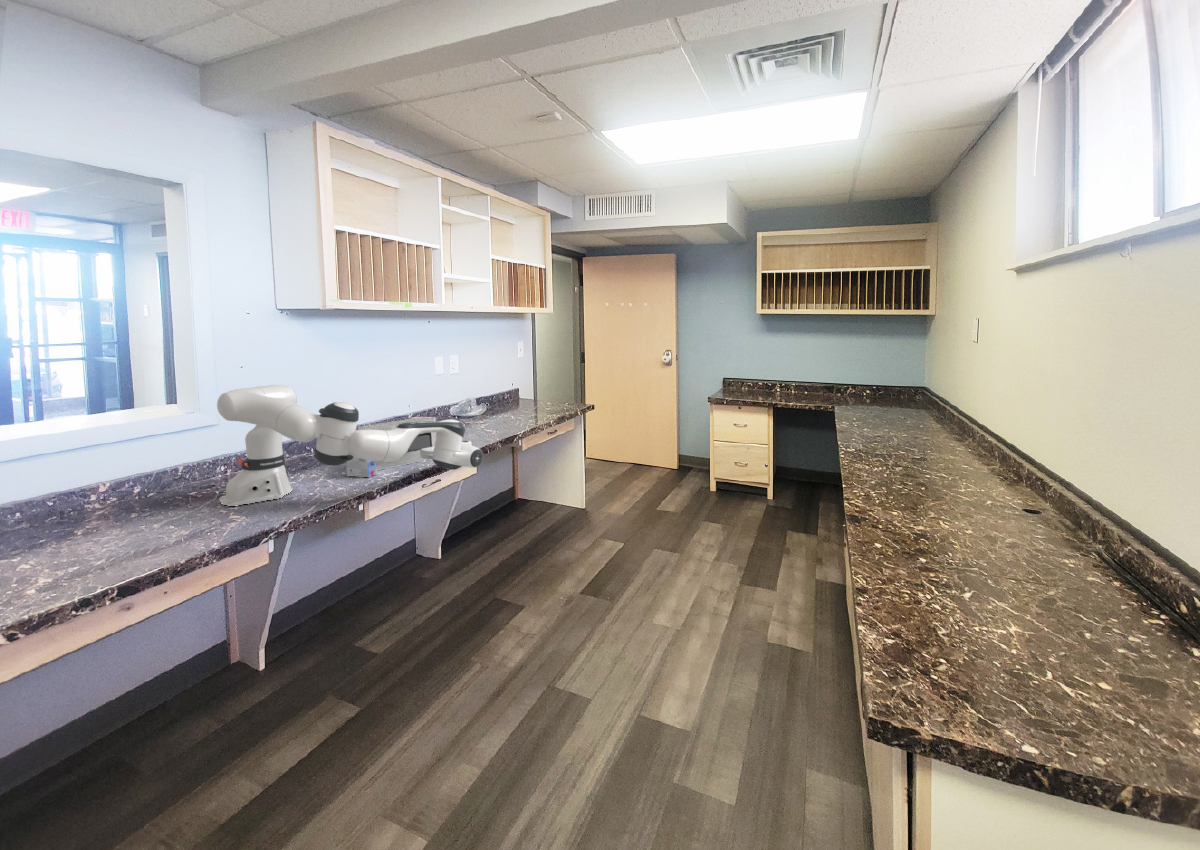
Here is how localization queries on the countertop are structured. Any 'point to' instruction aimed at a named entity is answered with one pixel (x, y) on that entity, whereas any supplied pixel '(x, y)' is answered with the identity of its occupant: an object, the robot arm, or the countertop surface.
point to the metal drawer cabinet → (410, 455)
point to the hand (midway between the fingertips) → (435, 447)
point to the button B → (420, 442)
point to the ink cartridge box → (360, 467)
